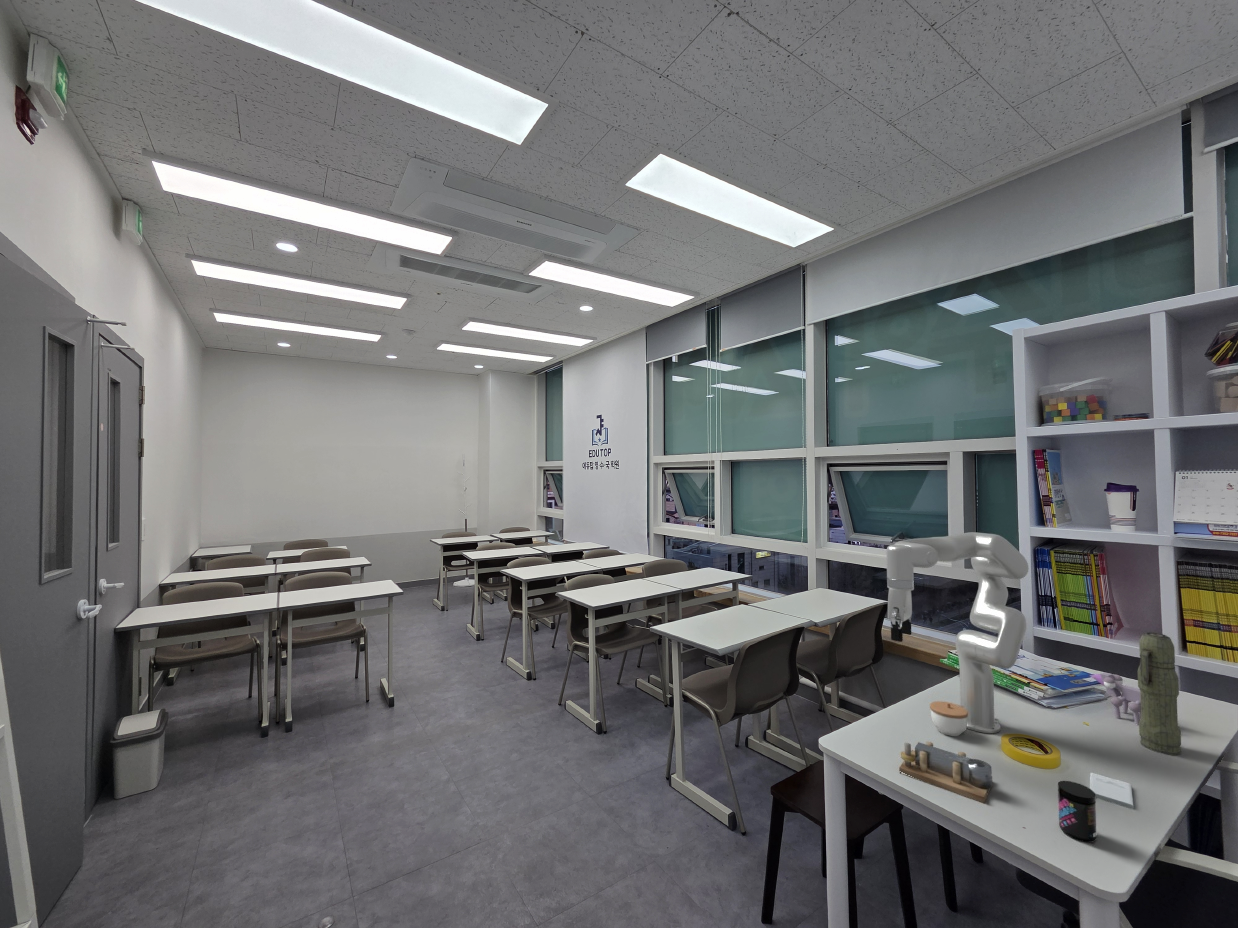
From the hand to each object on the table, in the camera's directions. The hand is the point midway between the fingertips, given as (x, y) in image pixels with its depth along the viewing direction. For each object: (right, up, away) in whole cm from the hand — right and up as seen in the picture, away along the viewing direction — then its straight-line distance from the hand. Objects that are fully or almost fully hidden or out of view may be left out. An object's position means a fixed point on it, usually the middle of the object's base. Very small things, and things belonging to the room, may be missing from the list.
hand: (901, 637), depth 164 cm
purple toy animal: (+88, -34, +15) cm, 95 cm away
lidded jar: (+19, -34, +6) cm, 39 cm away
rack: (+1, -33, -20) cm, 38 cm away
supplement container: (+18, -32, -43) cm, 57 cm away
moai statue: (+78, -33, -5) cm, 85 cm away
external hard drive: (+41, -33, -27) cm, 59 cm away
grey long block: (+3, -31, -21) cm, 38 cm away
